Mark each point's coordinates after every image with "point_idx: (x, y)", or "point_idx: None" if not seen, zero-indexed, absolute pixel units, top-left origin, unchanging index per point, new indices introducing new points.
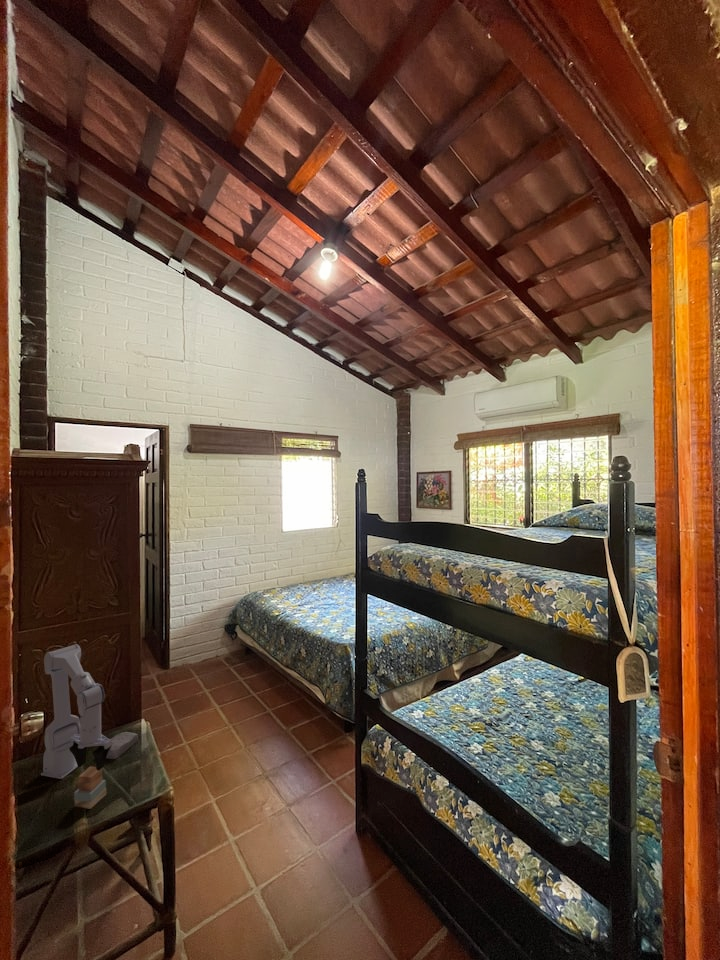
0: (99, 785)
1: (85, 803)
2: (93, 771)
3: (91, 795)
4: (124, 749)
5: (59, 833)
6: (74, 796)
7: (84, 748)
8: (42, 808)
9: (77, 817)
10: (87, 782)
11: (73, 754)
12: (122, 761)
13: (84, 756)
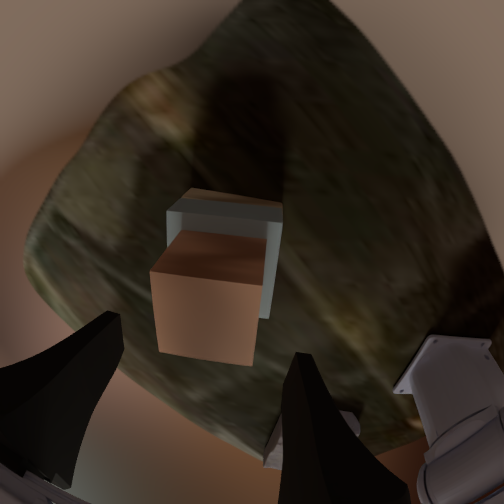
0: None
1: (215, 198)
2: (186, 325)
3: (169, 210)
4: (274, 433)
5: (231, 51)
6: (281, 214)
7: (285, 487)
8: (423, 195)
9: (215, 137)
10: (193, 256)
11: (357, 446)
12: (252, 401)
13: (286, 425)
